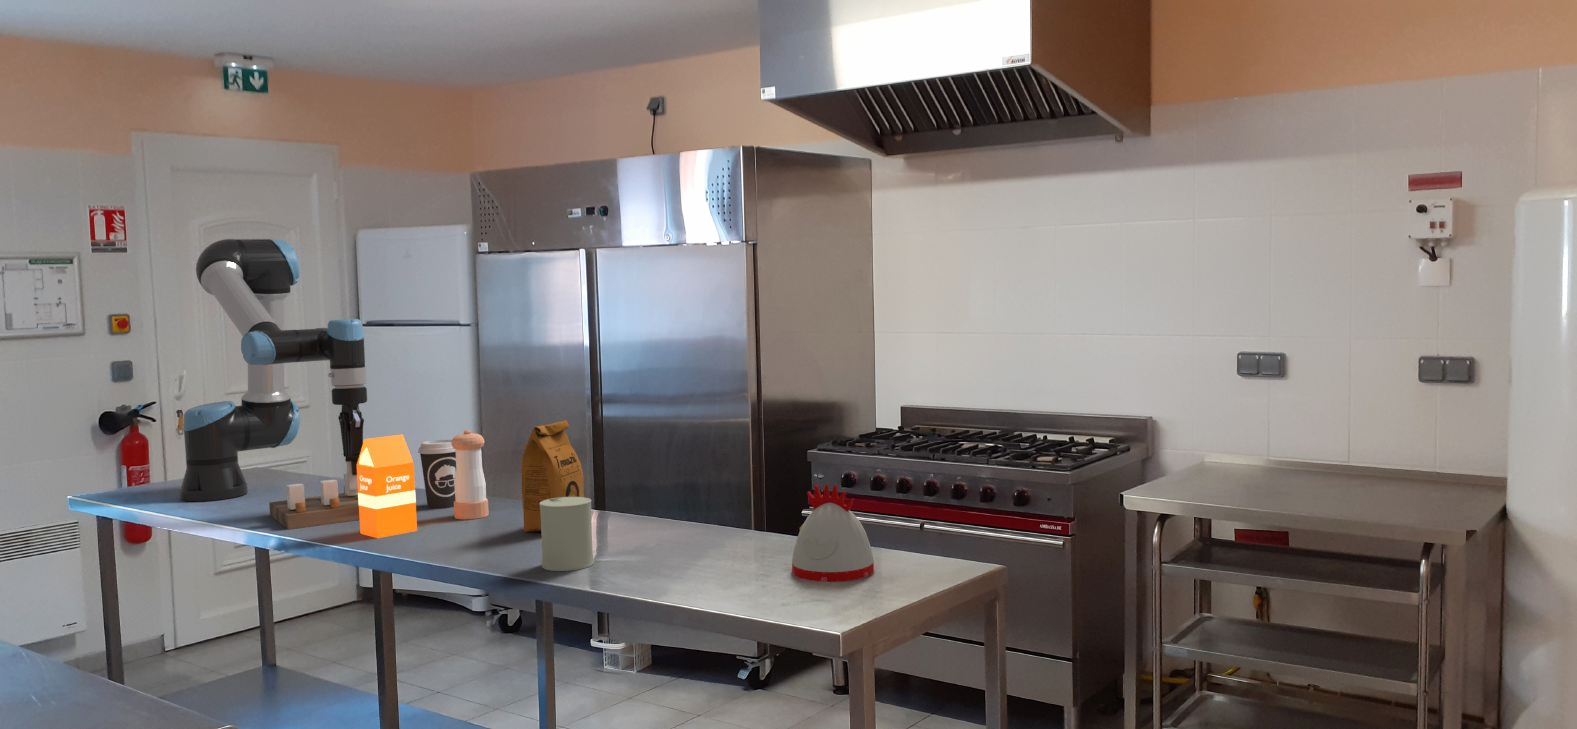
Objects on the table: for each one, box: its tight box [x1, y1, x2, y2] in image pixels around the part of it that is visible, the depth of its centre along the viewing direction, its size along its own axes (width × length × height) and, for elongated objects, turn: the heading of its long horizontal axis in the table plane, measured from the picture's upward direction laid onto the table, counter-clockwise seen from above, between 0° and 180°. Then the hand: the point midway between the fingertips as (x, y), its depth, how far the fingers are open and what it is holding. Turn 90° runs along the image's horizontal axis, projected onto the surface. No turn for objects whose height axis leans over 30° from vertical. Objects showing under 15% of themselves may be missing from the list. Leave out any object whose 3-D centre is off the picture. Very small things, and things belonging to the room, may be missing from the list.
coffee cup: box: [417, 439, 456, 510], centre depth 261 cm, size 10×10×15 cm
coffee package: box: [521, 419, 585, 533], centre depth 233 cm, size 10×12×22 cm
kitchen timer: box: [791, 483, 875, 583], centre depth 191 cm, size 14×14×15 cm
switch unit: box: [268, 486, 360, 530], centre depth 254 cm, size 20×20×5 cm
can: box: [539, 496, 595, 572], centre depth 201 cm, size 9×9×12 cm
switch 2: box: [319, 479, 339, 505], centre depth 250 cm, size 3×3×5 cm
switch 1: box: [286, 483, 306, 510], centre depth 246 cm, size 3×3×5 cm
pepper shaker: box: [451, 429, 490, 520], centre depth 248 cm, size 7×7×19 cm
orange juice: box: [357, 433, 418, 539], centre depth 234 cm, size 8×9×20 cm
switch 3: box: [343, 472, 358, 496], centre depth 261 cm, size 3×3×5 cm
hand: (355, 488), depth 259 cm, fingers closed
